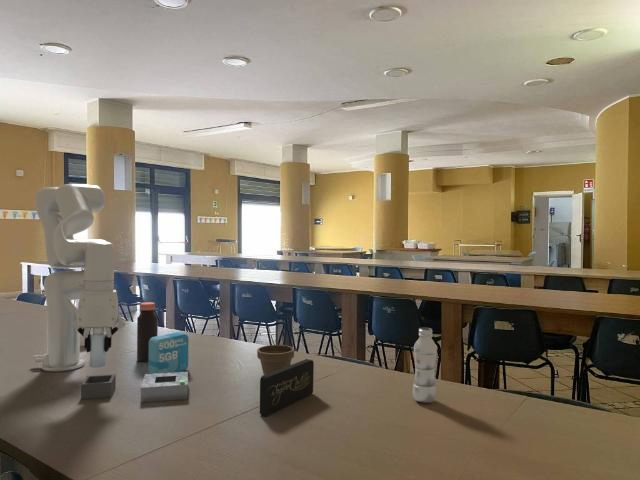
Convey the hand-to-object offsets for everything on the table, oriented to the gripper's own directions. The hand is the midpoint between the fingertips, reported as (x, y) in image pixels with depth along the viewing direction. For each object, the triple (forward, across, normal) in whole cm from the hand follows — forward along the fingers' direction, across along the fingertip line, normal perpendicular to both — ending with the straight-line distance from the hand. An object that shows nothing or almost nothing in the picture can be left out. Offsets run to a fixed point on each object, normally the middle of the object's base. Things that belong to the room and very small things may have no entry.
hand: (98, 350), depth 133 cm
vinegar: (+13, +11, +32) cm, 36 cm away
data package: (+12, +19, +15) cm, 27 cm away
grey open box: (+12, +1, -1) cm, 12 cm away
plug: (+4, 0, 0) cm, 4 cm away
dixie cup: (+14, -15, +60) cm, 63 cm away
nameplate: (+11, +51, -21) cm, 56 cm away
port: (+12, +19, -5) cm, 23 cm away
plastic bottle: (+10, +88, -27) cm, 92 cm away
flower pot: (+11, +51, -1) cm, 52 cm away
